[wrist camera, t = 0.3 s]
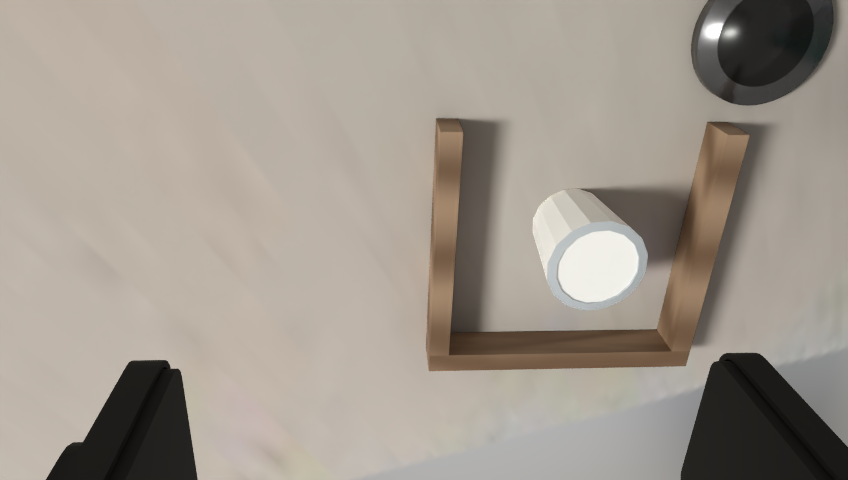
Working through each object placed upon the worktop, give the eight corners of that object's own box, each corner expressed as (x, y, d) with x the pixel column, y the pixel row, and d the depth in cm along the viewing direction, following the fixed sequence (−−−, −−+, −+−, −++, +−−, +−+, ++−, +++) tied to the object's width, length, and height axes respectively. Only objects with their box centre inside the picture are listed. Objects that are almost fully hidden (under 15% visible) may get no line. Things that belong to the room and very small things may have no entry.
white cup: (628, 229, 49) (666, 274, 43) (553, 277, 51) (579, 328, 45) (585, 162, 46) (618, 201, 40) (507, 216, 48) (527, 261, 42)
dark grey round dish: (708, -40, 41) (716, -38, 40) (842, -35, 41) (853, -34, 40) (678, 100, 45) (684, 104, 44) (800, 102, 45) (808, 106, 45)
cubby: (436, 118, 44) (440, 131, 41) (727, 122, 46) (749, 135, 43) (426, 347, 53) (428, 370, 50) (670, 343, 55) (685, 366, 52)
